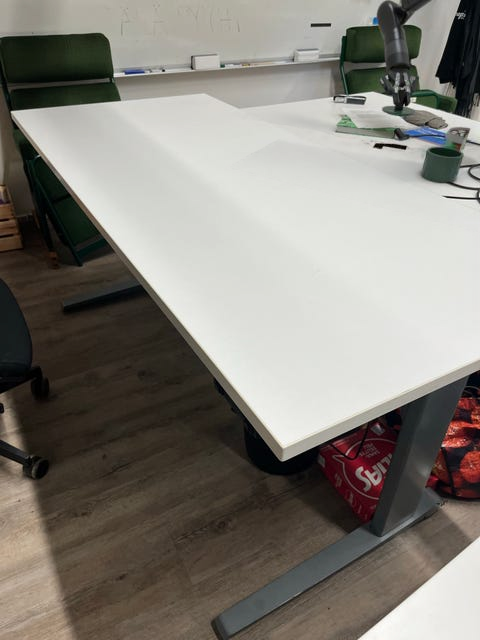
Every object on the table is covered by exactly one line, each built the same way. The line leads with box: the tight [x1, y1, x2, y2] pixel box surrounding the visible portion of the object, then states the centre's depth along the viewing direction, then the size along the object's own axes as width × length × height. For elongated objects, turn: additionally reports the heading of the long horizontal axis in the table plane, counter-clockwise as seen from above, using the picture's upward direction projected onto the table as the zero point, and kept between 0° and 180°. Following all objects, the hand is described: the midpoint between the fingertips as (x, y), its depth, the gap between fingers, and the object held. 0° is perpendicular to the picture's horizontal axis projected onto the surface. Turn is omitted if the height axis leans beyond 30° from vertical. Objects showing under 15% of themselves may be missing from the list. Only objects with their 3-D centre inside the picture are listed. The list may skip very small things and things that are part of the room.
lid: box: [381, 89, 416, 117], centre depth 162 cm, size 11×11×7 cm
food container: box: [444, 126, 471, 152], centre depth 155 cm, size 12×6×10 cm, turn 149°
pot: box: [420, 146, 464, 184], centre depth 145 cm, size 10×10×7 cm
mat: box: [372, 142, 408, 151], centre depth 170 cm, size 11×11×1 cm
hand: (402, 105), depth 160 cm, fingers closed on lid, 3 cm apart
